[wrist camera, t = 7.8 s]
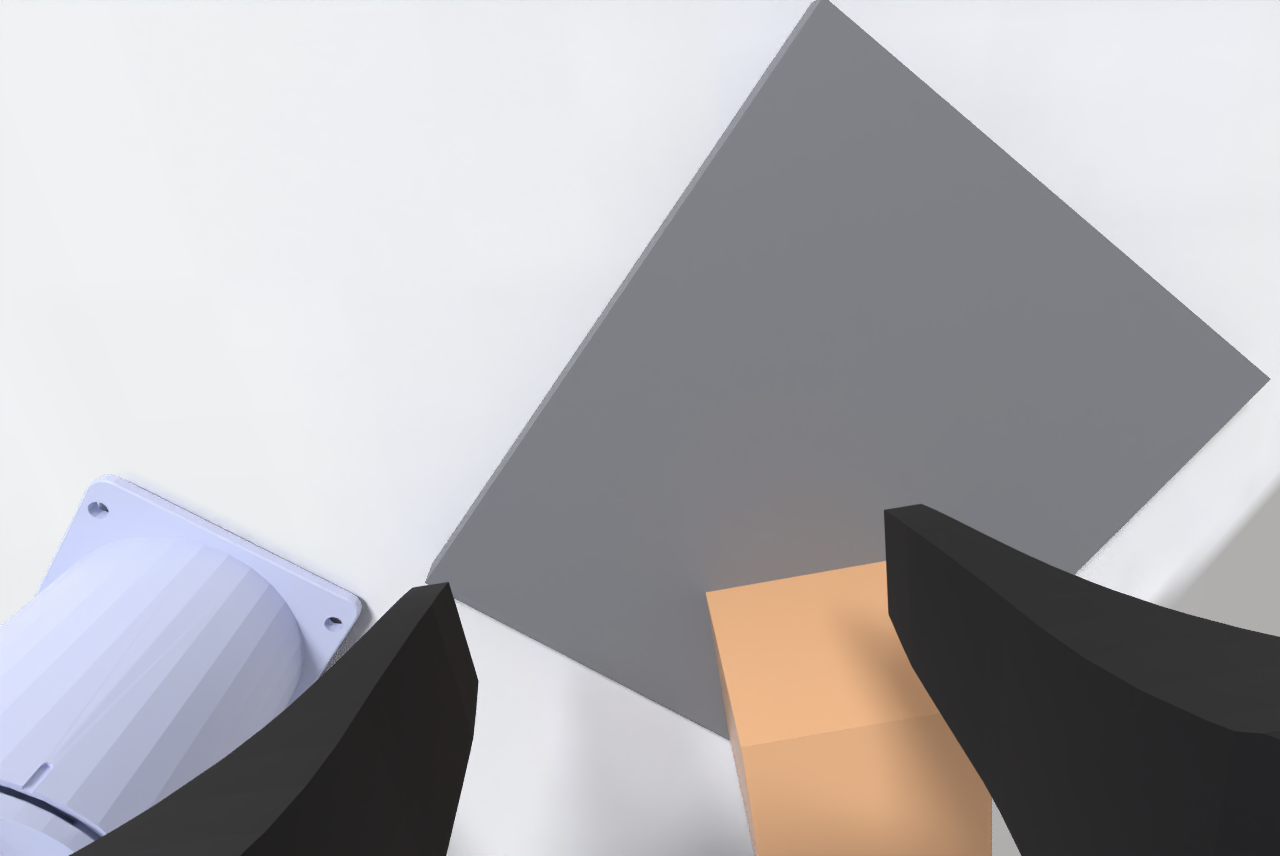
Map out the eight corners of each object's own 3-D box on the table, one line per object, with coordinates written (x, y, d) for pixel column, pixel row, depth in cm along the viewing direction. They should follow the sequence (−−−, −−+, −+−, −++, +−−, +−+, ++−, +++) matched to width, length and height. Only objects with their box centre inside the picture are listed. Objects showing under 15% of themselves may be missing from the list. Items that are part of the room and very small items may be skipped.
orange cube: (901, 707, 24) (991, 879, 19) (729, 737, 24) (768, 917, 19) (893, 559, 22) (992, 704, 17) (705, 592, 22) (740, 746, 17)
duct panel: (838, 777, 27) (888, 914, 22) (432, 564, 23) (389, 676, 18) (1241, 368, 22) (1416, 434, 17) (811, 2, 18) (887, -40, 13)
